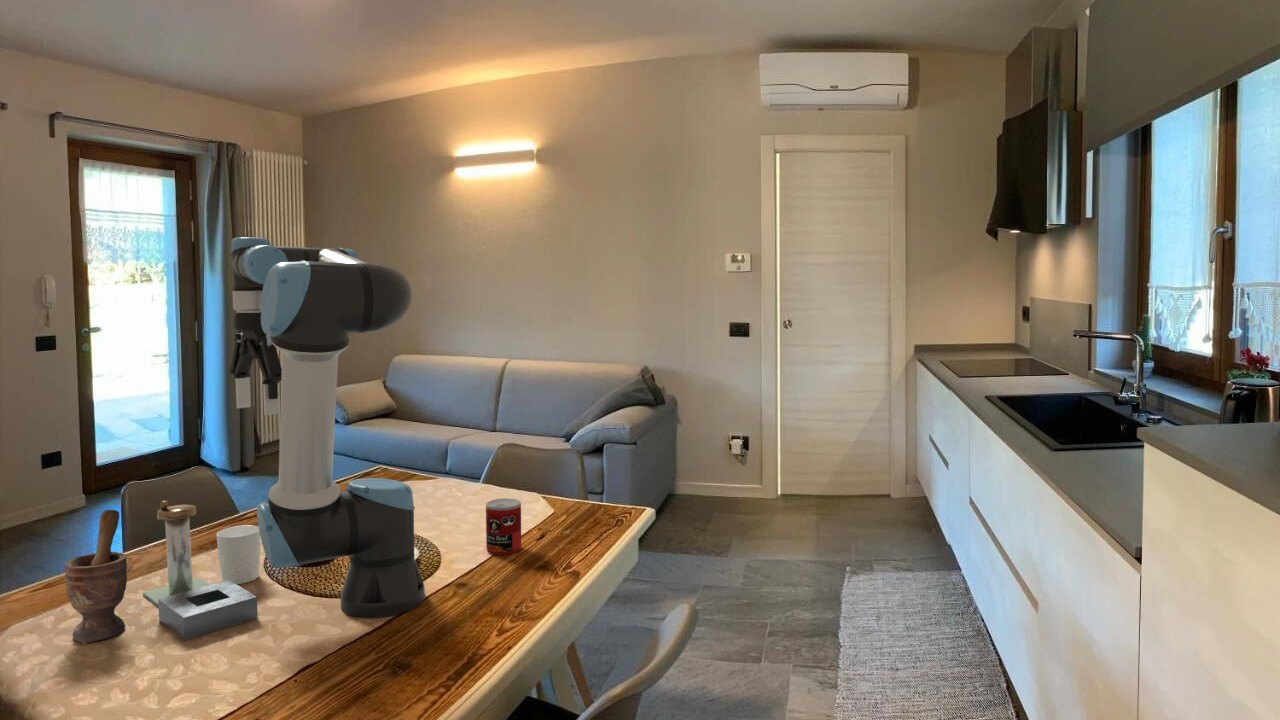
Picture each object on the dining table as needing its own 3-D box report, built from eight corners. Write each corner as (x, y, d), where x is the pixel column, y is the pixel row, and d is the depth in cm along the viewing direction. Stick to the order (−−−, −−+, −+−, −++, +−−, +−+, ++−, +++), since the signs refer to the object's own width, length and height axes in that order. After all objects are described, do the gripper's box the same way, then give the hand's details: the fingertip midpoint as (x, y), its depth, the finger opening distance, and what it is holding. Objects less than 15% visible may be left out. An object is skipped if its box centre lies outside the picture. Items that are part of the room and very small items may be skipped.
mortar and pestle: (71, 623, 138) (64, 512, 136) (129, 612, 142) (124, 505, 140) (67, 649, 128) (60, 530, 126) (130, 636, 133) (124, 521, 131)
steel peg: (206, 584, 154) (201, 496, 152) (190, 597, 148) (185, 505, 146) (172, 585, 154) (167, 496, 152) (154, 598, 147) (149, 506, 146)
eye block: (257, 618, 140) (256, 596, 140) (184, 640, 131) (183, 617, 131) (230, 600, 148) (229, 580, 148) (159, 620, 139) (158, 598, 139)
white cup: (244, 587, 154) (242, 538, 154) (209, 584, 156) (207, 535, 155) (270, 573, 162) (268, 526, 161) (237, 570, 164) (235, 524, 163)
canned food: (479, 553, 175) (479, 505, 174) (498, 542, 183) (498, 496, 182) (509, 558, 173) (508, 509, 171) (527, 547, 180) (527, 500, 179)
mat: (219, 593, 151) (219, 590, 151) (161, 609, 144) (161, 606, 144) (199, 580, 158) (199, 577, 158) (143, 595, 150) (142, 592, 150)
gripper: (298, 312, 160) (302, 415, 162) (246, 309, 176) (250, 403, 178) (261, 313, 154) (265, 419, 156) (211, 310, 171) (215, 406, 173)
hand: (257, 411), depth 167 cm, fingers open, 13 cm apart
